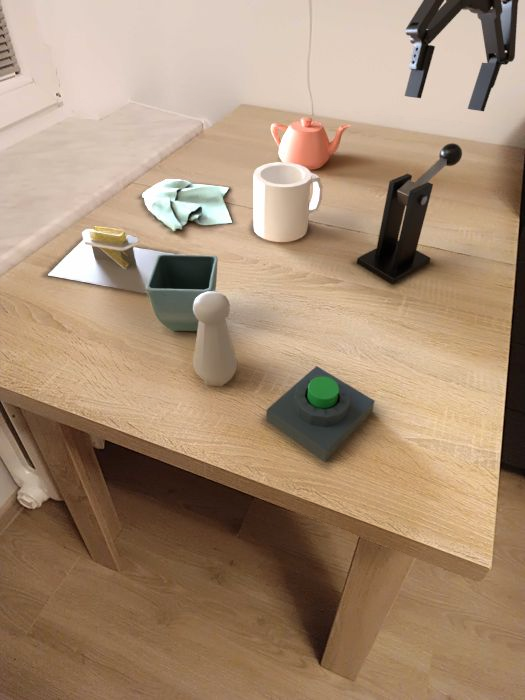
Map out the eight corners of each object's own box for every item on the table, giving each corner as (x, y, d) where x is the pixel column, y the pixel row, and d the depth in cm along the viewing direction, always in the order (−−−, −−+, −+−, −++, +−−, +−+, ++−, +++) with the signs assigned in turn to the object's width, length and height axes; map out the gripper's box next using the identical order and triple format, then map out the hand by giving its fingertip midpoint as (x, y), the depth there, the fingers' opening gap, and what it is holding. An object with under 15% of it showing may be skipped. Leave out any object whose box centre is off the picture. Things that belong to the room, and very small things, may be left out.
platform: (146, 293, 80) (139, 258, 76) (47, 275, 83) (35, 240, 79) (175, 254, 88) (170, 220, 84) (84, 238, 92) (75, 205, 87)
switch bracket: (393, 244, 92) (411, 165, 81) (429, 263, 87) (452, 182, 77) (356, 263, 87) (369, 182, 77) (392, 284, 82) (411, 201, 72)
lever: (448, 153, 82) (448, 136, 80) (466, 160, 81) (467, 142, 78) (394, 203, 80) (393, 186, 77) (411, 211, 78) (411, 194, 75)
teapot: (275, 147, 123) (277, 106, 117) (348, 155, 121) (354, 113, 114) (264, 167, 115) (264, 124, 108) (342, 176, 112) (347, 133, 105)
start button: (319, 381, 62) (320, 371, 60) (343, 396, 60) (345, 386, 59) (301, 398, 60) (302, 388, 58) (325, 413, 58) (327, 404, 57)
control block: (315, 377, 67) (317, 355, 64) (372, 412, 63) (377, 390, 60) (266, 420, 62) (266, 399, 59) (324, 462, 57) (328, 441, 55)
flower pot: (165, 301, 79) (157, 252, 72) (220, 303, 78) (218, 254, 72) (154, 339, 72) (144, 289, 66) (214, 341, 72) (211, 291, 66)
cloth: (164, 176, 111) (163, 166, 109) (256, 193, 106) (256, 182, 104) (114, 219, 97) (111, 208, 95) (217, 241, 92) (216, 229, 90)
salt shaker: (207, 398, 64) (200, 320, 55) (187, 371, 68) (176, 294, 59) (246, 379, 67) (244, 303, 58) (224, 354, 70) (219, 278, 61)
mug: (300, 205, 102) (303, 153, 94) (331, 227, 96) (338, 173, 88) (243, 223, 96) (242, 170, 89) (273, 247, 90) (275, 192, 83)
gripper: (531, -43, 75) (481, 112, 85) (409, -99, 63) (366, 88, 73) (578, -49, 69) (518, 117, 79) (453, -112, 58) (400, 93, 67)
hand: (445, 104), depth 76 cm, fingers open, 13 cm apart
